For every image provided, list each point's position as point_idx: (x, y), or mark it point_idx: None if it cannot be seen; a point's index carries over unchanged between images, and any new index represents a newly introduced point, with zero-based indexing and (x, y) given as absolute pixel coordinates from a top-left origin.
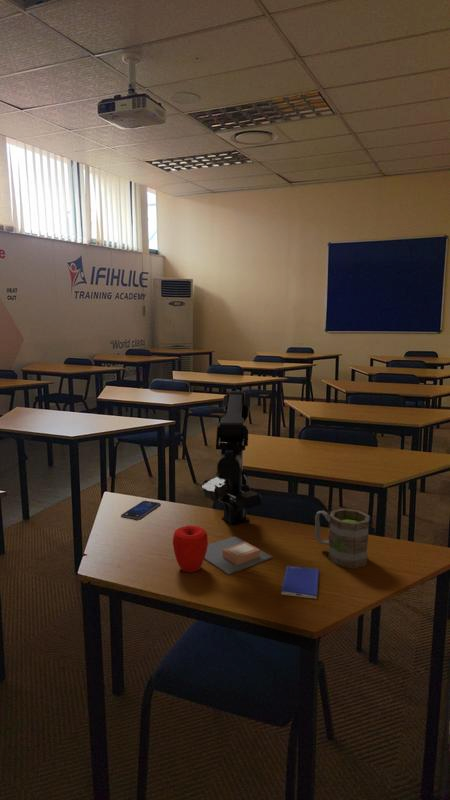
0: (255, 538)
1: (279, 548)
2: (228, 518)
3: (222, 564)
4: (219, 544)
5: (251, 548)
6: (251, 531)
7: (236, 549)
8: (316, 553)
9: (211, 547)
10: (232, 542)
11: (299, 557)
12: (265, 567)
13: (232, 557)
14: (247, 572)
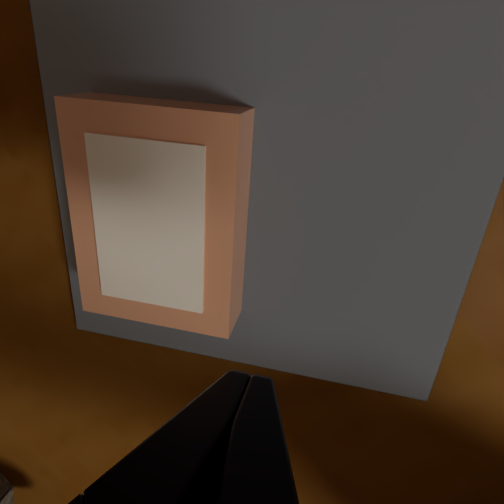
0: (313, 444)
1: (144, 419)
2: (243, 409)
3: (155, 9)
4: (425, 242)
5: (116, 285)
6: (397, 498)
7: (165, 201)
8: (27, 457)
9: (443, 156)
10: (369, 325)
11: (28, 397)
12: (15, 220)
13: (116, 100)
14: (7, 92)
